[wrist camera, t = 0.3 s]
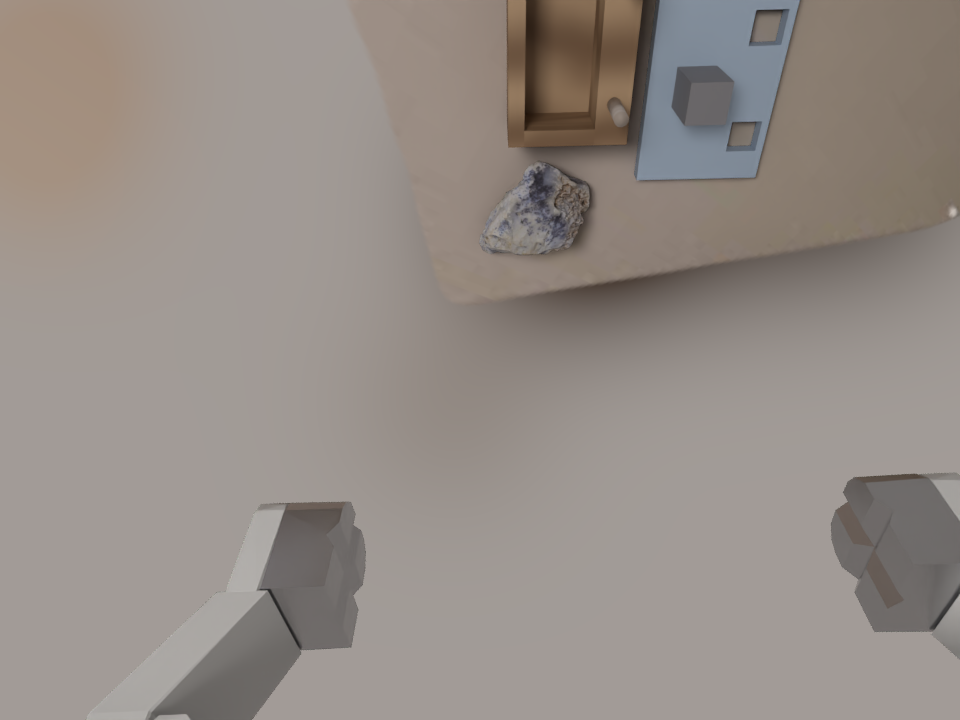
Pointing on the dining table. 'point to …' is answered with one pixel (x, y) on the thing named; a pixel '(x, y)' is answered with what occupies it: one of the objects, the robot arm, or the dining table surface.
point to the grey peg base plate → (708, 88)
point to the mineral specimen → (537, 213)
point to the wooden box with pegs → (570, 71)
